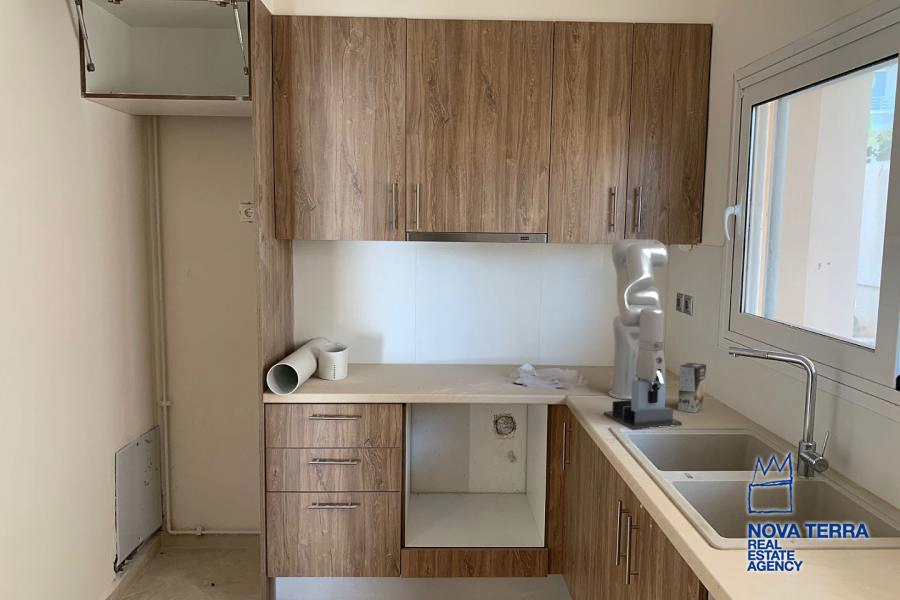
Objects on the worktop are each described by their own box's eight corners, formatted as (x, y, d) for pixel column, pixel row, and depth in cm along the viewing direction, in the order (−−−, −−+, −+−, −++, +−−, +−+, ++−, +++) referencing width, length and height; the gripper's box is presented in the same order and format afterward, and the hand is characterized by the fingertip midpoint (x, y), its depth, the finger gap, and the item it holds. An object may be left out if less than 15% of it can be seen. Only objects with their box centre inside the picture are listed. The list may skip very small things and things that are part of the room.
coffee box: (695, 413, 220) (698, 368, 218) (677, 410, 224) (679, 365, 222) (704, 408, 227) (706, 364, 226) (686, 405, 231) (688, 361, 230)
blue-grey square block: (657, 408, 211) (658, 378, 210) (664, 411, 207) (665, 381, 207) (631, 410, 208) (632, 380, 207) (638, 413, 205) (639, 382, 204)
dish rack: (603, 414, 217) (604, 400, 217) (648, 410, 223) (649, 397, 222) (633, 429, 200) (634, 414, 200) (681, 425, 206) (682, 410, 205)
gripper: (676, 349, 199) (674, 406, 201) (645, 341, 215) (643, 394, 217) (656, 350, 197) (653, 408, 199) (626, 342, 213) (624, 395, 214)
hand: (648, 400), depth 208 cm, fingers closed on blue-grey square block, 4 cm apart
